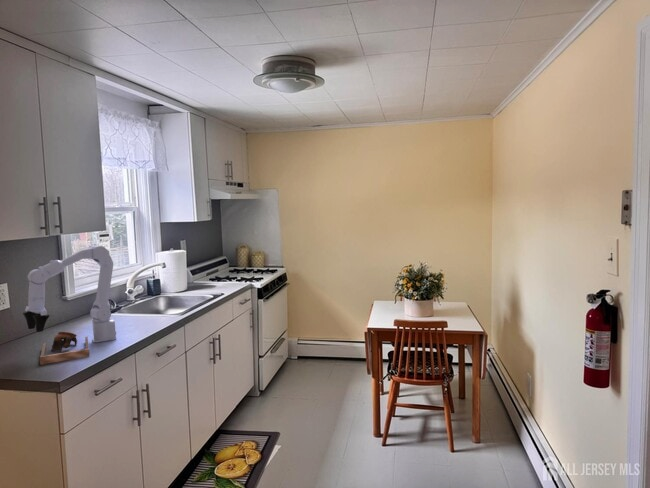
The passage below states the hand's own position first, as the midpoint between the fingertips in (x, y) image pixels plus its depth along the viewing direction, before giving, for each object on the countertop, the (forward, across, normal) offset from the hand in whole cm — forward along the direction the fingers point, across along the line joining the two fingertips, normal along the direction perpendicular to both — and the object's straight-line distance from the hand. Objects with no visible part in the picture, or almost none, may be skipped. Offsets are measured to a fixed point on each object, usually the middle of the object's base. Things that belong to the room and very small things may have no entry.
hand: (35, 330), depth 182 cm
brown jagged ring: (+10, +2, +12) cm, 15 cm away
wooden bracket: (+10, +8, +9) cm, 15 cm away
